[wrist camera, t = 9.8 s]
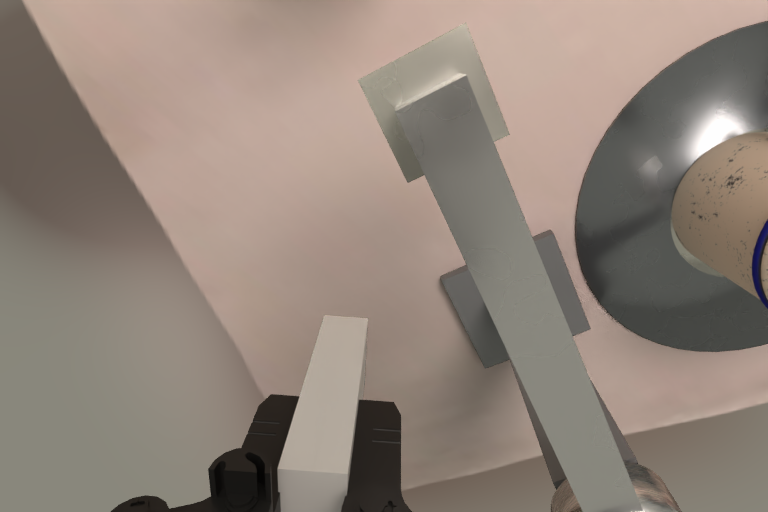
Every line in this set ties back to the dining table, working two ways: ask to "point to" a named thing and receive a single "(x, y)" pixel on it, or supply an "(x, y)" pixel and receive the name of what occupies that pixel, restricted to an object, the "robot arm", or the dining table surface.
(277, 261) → the dining table surface
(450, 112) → the gauge arm
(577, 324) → the gauge post
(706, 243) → the teacup with lid
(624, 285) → the turntable platter
